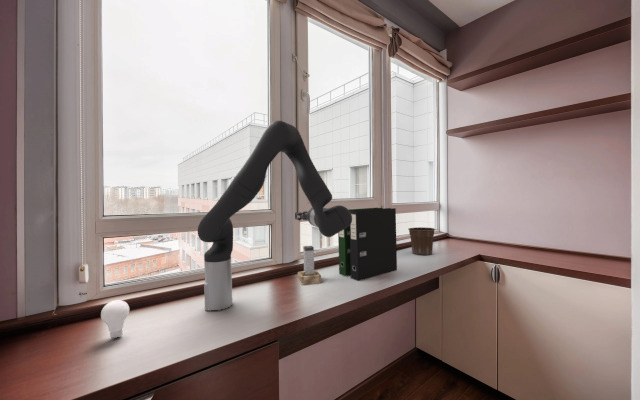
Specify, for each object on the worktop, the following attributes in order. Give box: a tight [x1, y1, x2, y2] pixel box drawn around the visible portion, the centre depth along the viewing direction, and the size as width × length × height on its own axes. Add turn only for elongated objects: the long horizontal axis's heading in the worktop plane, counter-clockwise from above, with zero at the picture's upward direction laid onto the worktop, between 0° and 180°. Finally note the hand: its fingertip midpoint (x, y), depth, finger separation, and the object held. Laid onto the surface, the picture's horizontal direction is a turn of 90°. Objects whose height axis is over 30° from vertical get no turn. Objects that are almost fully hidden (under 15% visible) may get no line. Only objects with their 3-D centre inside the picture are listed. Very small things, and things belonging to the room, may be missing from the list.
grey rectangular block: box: [302, 245, 315, 276], centre depth 128 cm, size 4×4×15 cm
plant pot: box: [408, 226, 436, 256], centre depth 179 cm, size 16×16×16 cm
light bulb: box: [100, 299, 130, 339], centre depth 80 cm, size 7×7×11 cm
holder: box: [297, 269, 322, 286], centre depth 128 cm, size 9×9×4 cm
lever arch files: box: [337, 207, 398, 282], centre depth 139 cm, size 27×15×32 cm, turn 124°
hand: (309, 214), depth 114 cm, fingers open, 8 cm apart
